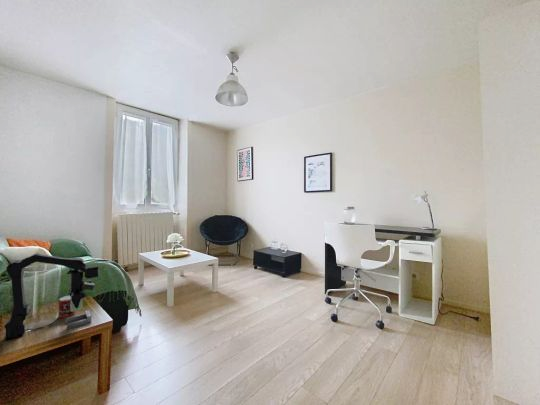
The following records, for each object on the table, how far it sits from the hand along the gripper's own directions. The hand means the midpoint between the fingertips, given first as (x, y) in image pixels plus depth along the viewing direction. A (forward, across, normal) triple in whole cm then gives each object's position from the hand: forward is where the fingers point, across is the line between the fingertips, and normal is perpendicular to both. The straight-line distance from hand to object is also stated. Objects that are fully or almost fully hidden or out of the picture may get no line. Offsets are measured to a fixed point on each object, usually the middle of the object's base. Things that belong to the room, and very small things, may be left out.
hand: (76, 306), depth 140 cm
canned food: (+10, +16, +3) cm, 19 cm away
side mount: (+10, 0, 0) cm, 10 cm away
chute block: (+2, 0, 0) cm, 2 cm away
